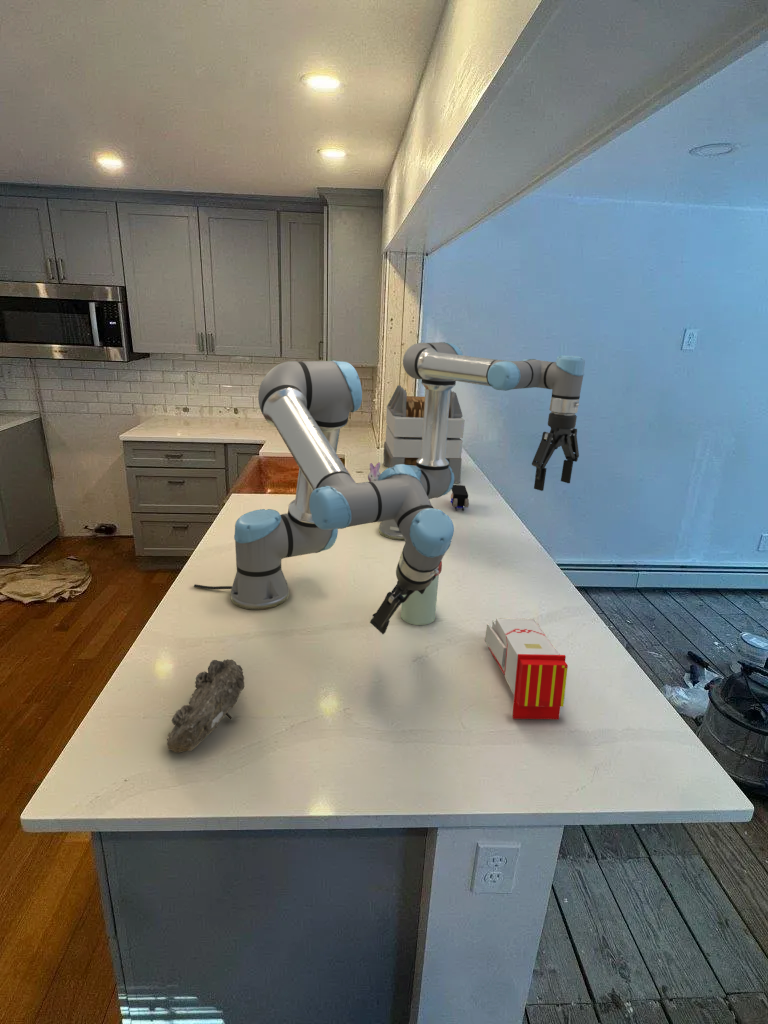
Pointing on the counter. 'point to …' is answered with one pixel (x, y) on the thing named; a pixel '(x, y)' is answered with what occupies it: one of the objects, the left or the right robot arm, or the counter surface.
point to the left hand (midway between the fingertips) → (399, 608)
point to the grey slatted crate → (419, 431)
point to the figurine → (374, 472)
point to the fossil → (206, 705)
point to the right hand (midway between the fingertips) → (552, 485)
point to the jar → (421, 605)
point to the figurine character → (459, 497)
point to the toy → (529, 667)
